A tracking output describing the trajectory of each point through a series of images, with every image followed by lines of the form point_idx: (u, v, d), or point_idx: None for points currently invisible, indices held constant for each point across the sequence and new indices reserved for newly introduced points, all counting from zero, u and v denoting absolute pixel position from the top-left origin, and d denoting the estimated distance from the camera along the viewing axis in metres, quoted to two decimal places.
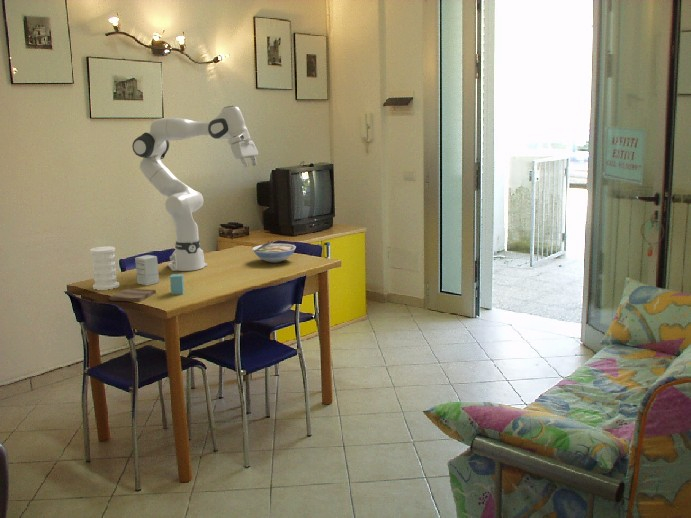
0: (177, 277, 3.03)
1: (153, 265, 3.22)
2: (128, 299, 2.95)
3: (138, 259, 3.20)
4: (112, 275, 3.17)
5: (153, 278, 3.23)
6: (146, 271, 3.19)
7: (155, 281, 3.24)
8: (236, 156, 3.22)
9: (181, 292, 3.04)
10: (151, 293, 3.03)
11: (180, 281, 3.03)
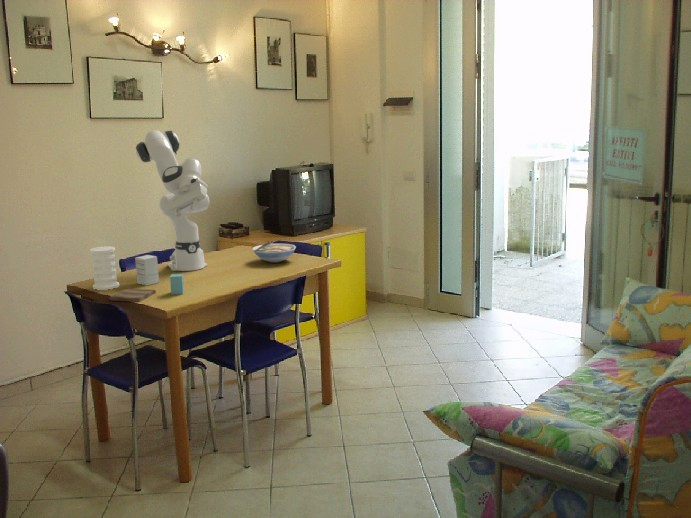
0: (177, 277, 3.03)
1: (153, 265, 3.22)
2: (128, 299, 2.95)
3: (138, 259, 3.20)
4: (112, 275, 3.17)
5: (153, 278, 3.23)
6: (146, 271, 3.19)
7: (155, 281, 3.24)
8: (202, 193, 3.05)
9: (181, 292, 3.04)
10: (151, 293, 3.03)
11: (180, 281, 3.03)
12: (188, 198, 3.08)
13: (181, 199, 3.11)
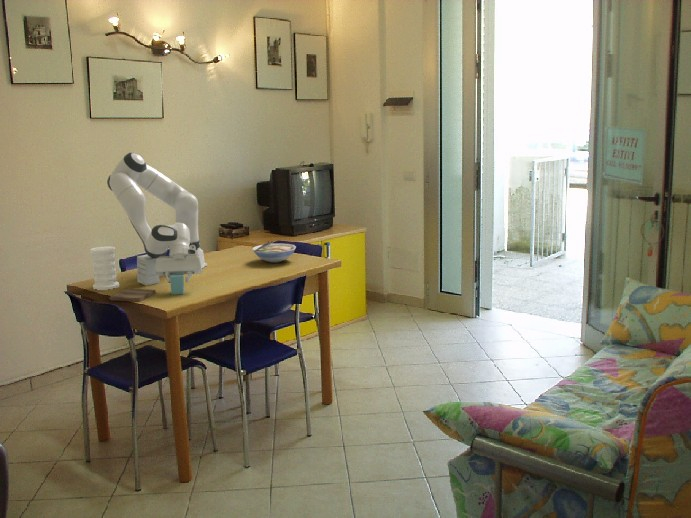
0: (177, 277, 3.02)
1: (154, 266, 3.21)
2: (128, 299, 2.95)
3: (140, 259, 3.19)
4: (112, 275, 3.17)
5: (154, 278, 3.23)
6: (147, 272, 3.19)
7: (155, 281, 3.24)
8: (201, 268, 3.08)
9: (181, 292, 3.04)
10: (151, 293, 3.03)
11: (180, 281, 3.03)
12: (184, 268, 3.06)
13: (173, 265, 3.07)
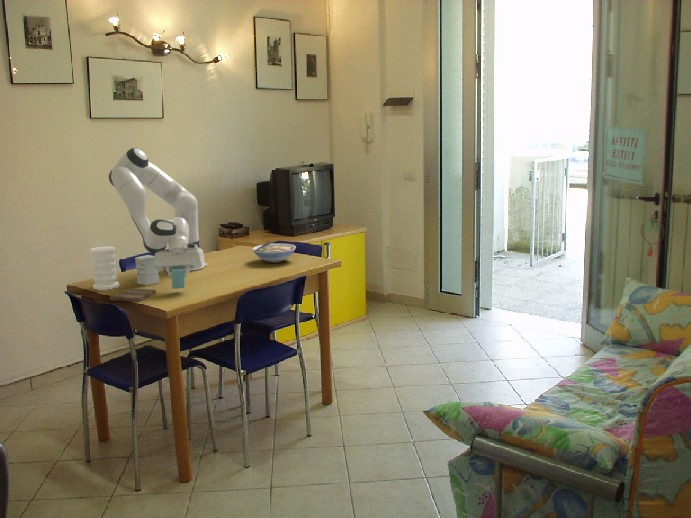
0: (178, 271, 3.02)
1: (153, 265, 3.22)
2: (128, 299, 2.95)
3: (138, 259, 3.20)
4: (112, 275, 3.17)
5: (153, 278, 3.23)
6: (146, 271, 3.19)
7: (155, 281, 3.24)
8: (200, 262, 3.08)
9: (182, 286, 3.04)
10: (151, 293, 3.03)
11: (181, 275, 3.03)
12: (183, 262, 3.06)
13: (173, 260, 3.07)
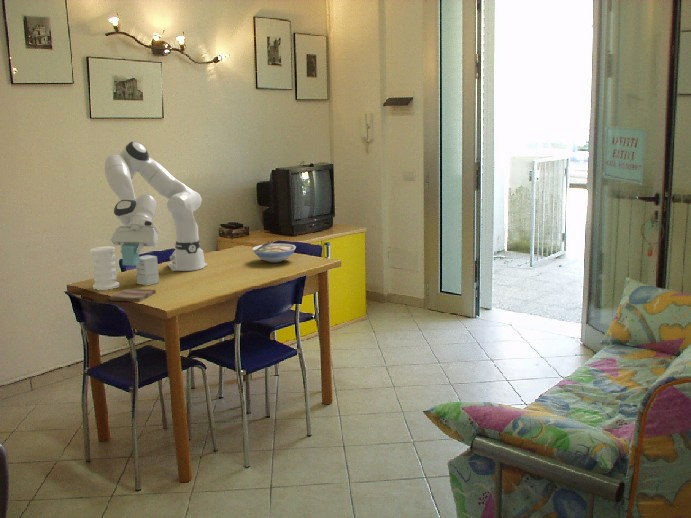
0: (128, 248, 2.95)
1: (153, 265, 3.22)
2: (128, 299, 2.95)
3: None
4: (112, 275, 3.17)
5: (153, 278, 3.23)
6: (146, 271, 3.19)
7: (155, 281, 3.24)
8: (153, 241, 2.97)
9: (132, 263, 2.96)
10: (151, 293, 3.03)
11: (131, 252, 2.95)
12: (137, 239, 2.98)
13: (128, 236, 3.00)
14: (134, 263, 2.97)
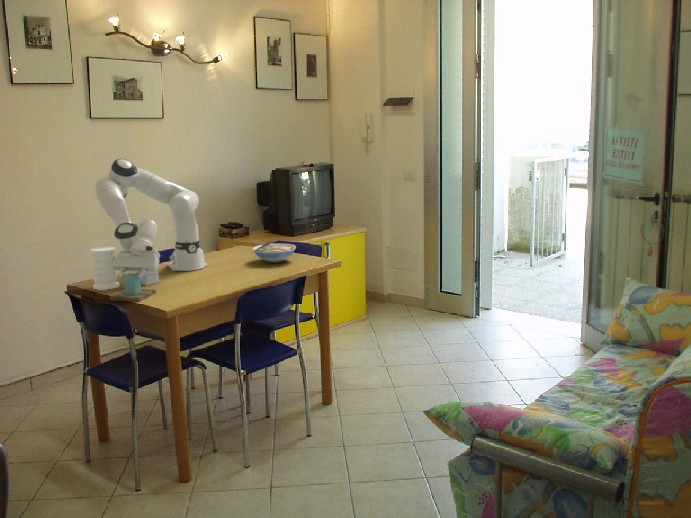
0: (130, 277, 2.98)
1: None
2: (128, 299, 2.95)
3: None
4: (112, 275, 3.17)
5: (153, 278, 3.23)
6: None
7: (155, 281, 3.24)
8: (154, 266, 3.00)
9: (134, 293, 2.99)
10: (151, 293, 3.03)
11: (132, 281, 2.98)
12: (138, 264, 3.00)
13: (129, 261, 3.02)
14: (136, 292, 2.99)
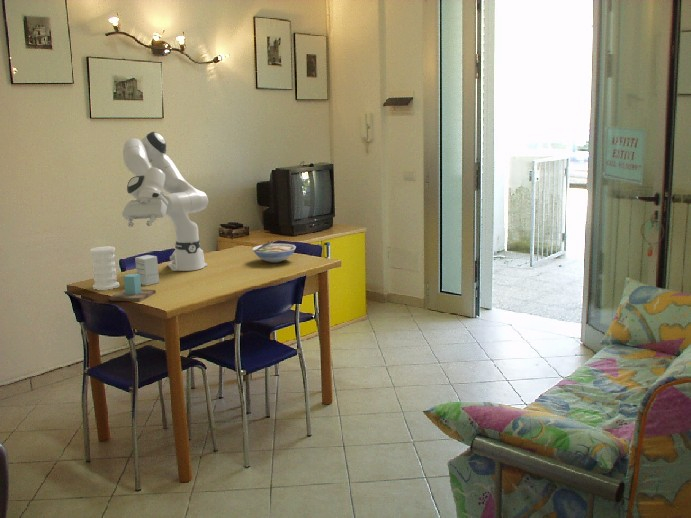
0: (130, 277, 2.98)
1: (153, 265, 3.22)
2: (128, 299, 2.95)
3: (138, 259, 3.20)
4: (112, 275, 3.17)
5: (153, 278, 3.23)
6: (146, 271, 3.19)
7: (155, 281, 3.24)
8: (161, 212, 3.00)
9: (134, 293, 2.99)
10: (151, 293, 3.03)
11: (132, 281, 2.98)
12: (145, 211, 3.02)
13: (138, 209, 3.04)
14: (136, 292, 2.99)
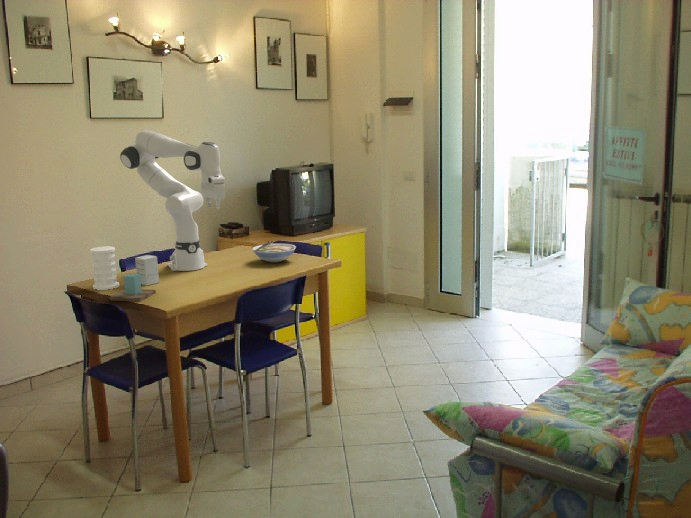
0: (130, 277, 2.98)
1: (153, 265, 3.22)
2: (128, 299, 2.95)
3: (138, 259, 3.20)
4: (112, 275, 3.17)
5: (153, 278, 3.23)
6: (146, 271, 3.19)
7: (155, 281, 3.24)
8: (219, 197, 3.12)
9: (134, 293, 2.99)
10: (151, 293, 3.03)
11: (132, 281, 2.98)
12: (211, 196, 3.17)
13: (207, 192, 3.21)
14: (136, 292, 2.99)
